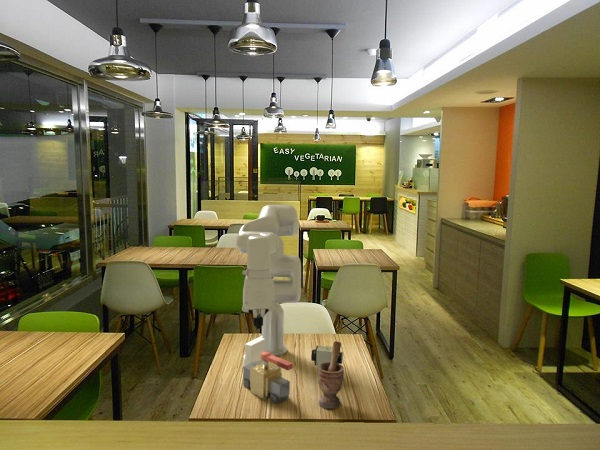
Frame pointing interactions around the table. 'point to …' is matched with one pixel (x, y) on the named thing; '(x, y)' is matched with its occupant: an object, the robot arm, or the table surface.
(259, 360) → the cylinder with rectangular tab
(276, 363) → the lever
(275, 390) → the valve pipe
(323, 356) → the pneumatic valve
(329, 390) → the mortar and pestle
